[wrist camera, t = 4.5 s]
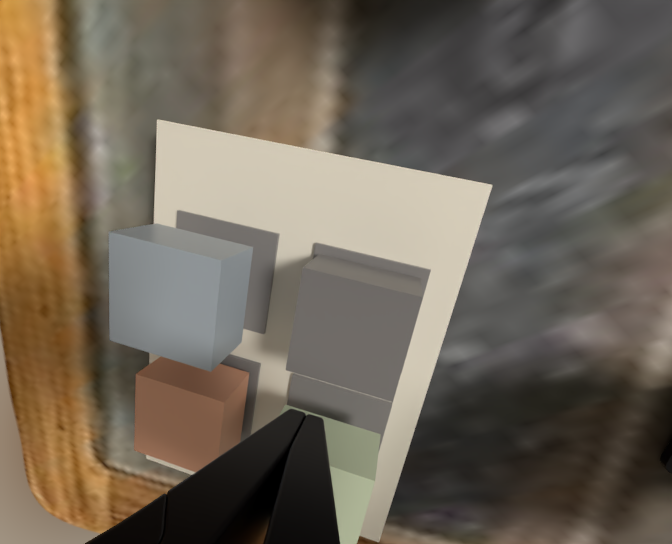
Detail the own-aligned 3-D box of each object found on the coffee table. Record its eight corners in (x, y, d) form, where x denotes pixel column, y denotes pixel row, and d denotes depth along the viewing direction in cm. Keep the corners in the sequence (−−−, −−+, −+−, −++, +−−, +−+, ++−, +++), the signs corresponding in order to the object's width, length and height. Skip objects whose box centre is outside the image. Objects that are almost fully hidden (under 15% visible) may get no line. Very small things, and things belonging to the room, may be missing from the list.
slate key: (253, 247, 14) (221, 260, 12) (241, 342, 15) (210, 371, 13) (156, 223, 15) (108, 231, 12) (153, 316, 16) (109, 340, 14)
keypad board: (482, 184, 15) (493, 184, 13) (381, 510, 21) (378, 546, 19) (184, 126, 18) (154, 118, 15) (167, 435, 23) (143, 460, 21)
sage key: (380, 434, 15) (374, 481, 13) (359, 508, 16) (351, 563, 14) (285, 404, 16) (263, 443, 13) (272, 478, 17) (250, 526, 15)
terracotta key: (249, 372, 18) (224, 402, 15) (240, 442, 19) (215, 479, 16) (171, 348, 18) (135, 374, 16) (167, 417, 20) (134, 450, 17)
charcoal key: (420, 278, 14) (422, 297, 12) (395, 369, 16) (392, 402, 13) (319, 253, 15) (302, 267, 13) (303, 342, 16) (285, 370, 14)
